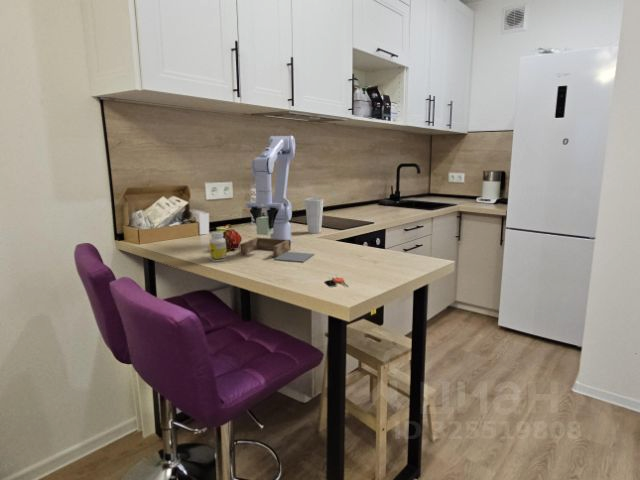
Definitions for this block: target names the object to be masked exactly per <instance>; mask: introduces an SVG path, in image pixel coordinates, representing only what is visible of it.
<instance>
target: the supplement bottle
mask: <svg viewBox="0 0 640 480" xmlns="http://www.w3.org/2000/svg"><path fill="white" fill-rule="evenodd" d="M223 232H224V231H217V230H216V231H212V232H211V233H210V235H211V236H210V237H211V238H210V239H209V247H210V249H209V250H210V260H211V261H212V262H215V263H216V262H217V263H218V262H224V261H227V259H228V256H227V254H228V253H227V250H226V240H225V238H223Z"/></svg>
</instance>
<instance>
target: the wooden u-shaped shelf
mask: <svg viewBox="0 0 640 480" xmlns="http://www.w3.org/2000/svg"><path fill="white" fill-rule="evenodd" d="M239 246H240V255H241V256H245V255H247V254H249V253H252V252H254V251H255V250H258V249H261V250H273V258H274V259H275V258H276V257H278V256H280V255H282V254H283V253H285V252H291V248H292V247H291V242H290V240H286V239H271V237H269V238H268V237H255V238H252V239H250V240H248V241H244V242H243V243H242V242H241V243H240V244H239Z"/></svg>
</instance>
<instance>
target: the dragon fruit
mask: <svg viewBox="0 0 640 480" xmlns="http://www.w3.org/2000/svg"><path fill="white" fill-rule="evenodd" d="M222 232H223V238H225V240H226V251H231V250H232V249H234V250H236V249H237V250H238V249H239V246H240V244H241V243H242V240H243V238H242V236H241V235H240V233H239V232H238V231H237V230H235V229H234V228H232V229H226V230H225V231H222Z"/></svg>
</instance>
